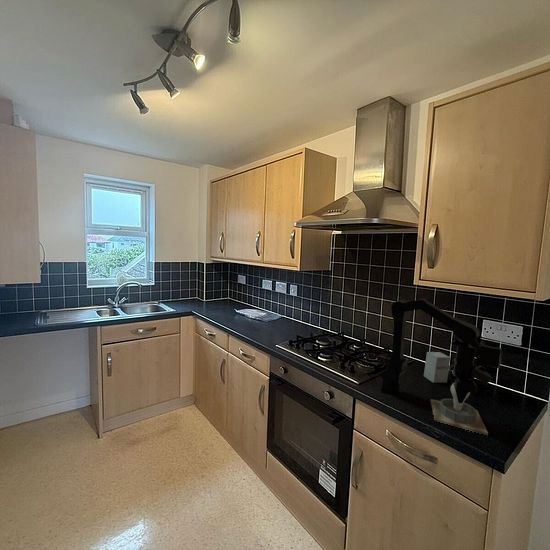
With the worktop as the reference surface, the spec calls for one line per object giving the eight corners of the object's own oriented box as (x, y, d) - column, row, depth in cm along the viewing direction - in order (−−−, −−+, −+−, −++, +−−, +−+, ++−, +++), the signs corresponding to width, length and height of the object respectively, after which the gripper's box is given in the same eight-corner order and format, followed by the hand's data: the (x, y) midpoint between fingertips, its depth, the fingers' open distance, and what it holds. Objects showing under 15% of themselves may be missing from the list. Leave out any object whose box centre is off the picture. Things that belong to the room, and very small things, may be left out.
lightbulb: (468, 417, 107) (472, 388, 106) (448, 412, 110) (452, 383, 109) (465, 409, 113) (469, 381, 112) (446, 404, 115) (450, 377, 114)
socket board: (434, 422, 107) (436, 411, 107) (430, 401, 122) (431, 392, 121) (487, 436, 101) (489, 424, 101) (476, 412, 116) (478, 402, 115)
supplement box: (433, 383, 140) (436, 357, 139) (423, 376, 147) (426, 351, 146) (447, 383, 141) (450, 357, 140) (436, 376, 148) (439, 351, 147)
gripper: (498, 373, 97) (491, 418, 99) (484, 355, 115) (478, 394, 116) (459, 365, 102) (453, 409, 103) (451, 349, 119) (445, 386, 120)
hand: (458, 399), depth 111 cm, fingers closed on lightbulb, 6 cm apart
